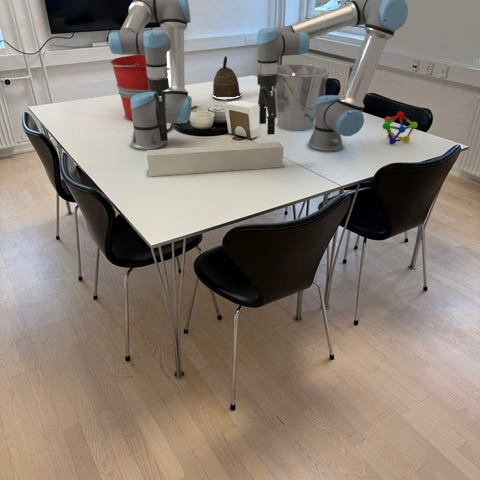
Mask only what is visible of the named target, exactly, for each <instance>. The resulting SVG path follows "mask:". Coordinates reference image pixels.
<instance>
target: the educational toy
mask: <svg viewBox="0 0 480 480" xmlns="http://www.w3.org/2000/svg"><path fill="white" fill-rule="evenodd" d="M397 119H399V124H400V125H399V127H398V126H393V125H391V124H392V123H394V122H395V121H396V120H397ZM403 120H404V121H405V122H407V123H408V124H409V125H407V126H404V123H403ZM417 127H418V122H417V121H411V120H410V119H409V118H408V117H406V116H405V113H404V112H403V111H401V110H400V111H398V112H397V114H396V115H394V116H391V117H390V116H386V117H385V118H384V122H383V123H382V129H383V130H386V132H387V138H388V142H389V145H395V144H396V143H397V142H402V141H403V142H404V143H409V142H410V140H411V138H410V136H411V134H412V132H413V131H414V130H415V129H417ZM392 129H393V130H397V131H398V132H396V134H395V133H394V132H392ZM408 129H409V131H408V133H407V134H406V135H404V136H401V134H403V133H405V132H406V130H408ZM399 135H400V136H399Z"/></svg>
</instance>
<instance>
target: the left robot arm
mask: <svg viewBox="0 0 480 480" xmlns="http://www.w3.org/2000/svg"><path fill="white" fill-rule="evenodd" d="M190 9H191V8H190V3H189V0H133V1H132V2H131V4H130V5H129V6H128V11H127V12H128V14H127V17H126V18H125V20H124V22H123V24H122V26H121V27H120V30H119V32H118V31H113V32H110V33H109V34H108V40H107V41H108V47H109V50H110V52H111V54H113V55H120V56H123V55H124V56H131V55H145V58H146V70H147V77H148V87H149V89H150V90H152V91H156V93H155V92H144V93H139V94H136V95H134V96H133V97H132V98H131V111H132V118H133V121H132V125H133V132H132V135H131V142H130V143H131V147H132V148H134V149H135V150H141V151H147V150H159V149H161V148H163V147H164V146H165V144H166V142H168V141H169V140H168V139H169V137H168V132H170V131H171V130H172V129H173V125H174V124H178V125H179V124H186V123H188V122H189V121H190V118H191V113H192V110H193V109H195V108H198V105H197V106H196V105H194V106H192V102H193V101H192V100H193V99H192V96H190V95H189V91H188V90H187V89H186V88H185V82H186V81H185V31H186V30H187V29H188V24H190V23H191V10H190ZM150 23H159V26H160V28H161V29H162V30H161V29H149V30H145V27H146V26H147V25H148V24H150ZM167 124H170V127H169V128H168V125H167Z"/></svg>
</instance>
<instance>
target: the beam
mask: <svg viewBox="0 0 480 480" xmlns="http://www.w3.org/2000/svg"><path fill="white" fill-rule="evenodd" d="M284 148H285V147H284V145H283V144H282V143H281V141H272V142H271V141H270V142H258V143H257V142H256V143H242V144H225V145H210V146H209V145H208V146H194V147H178V148H175V147H174V148H159V149H153V150H146V158H147V159H146V160H147V167H148V168H147V169H148V175H149V177H161V176H175V175H188V174H189V175H190V174H202V173H204V174H205V173H215V172H230V171H245V170H258V169H260V170H261V169H272V168H283V162H284Z"/></svg>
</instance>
